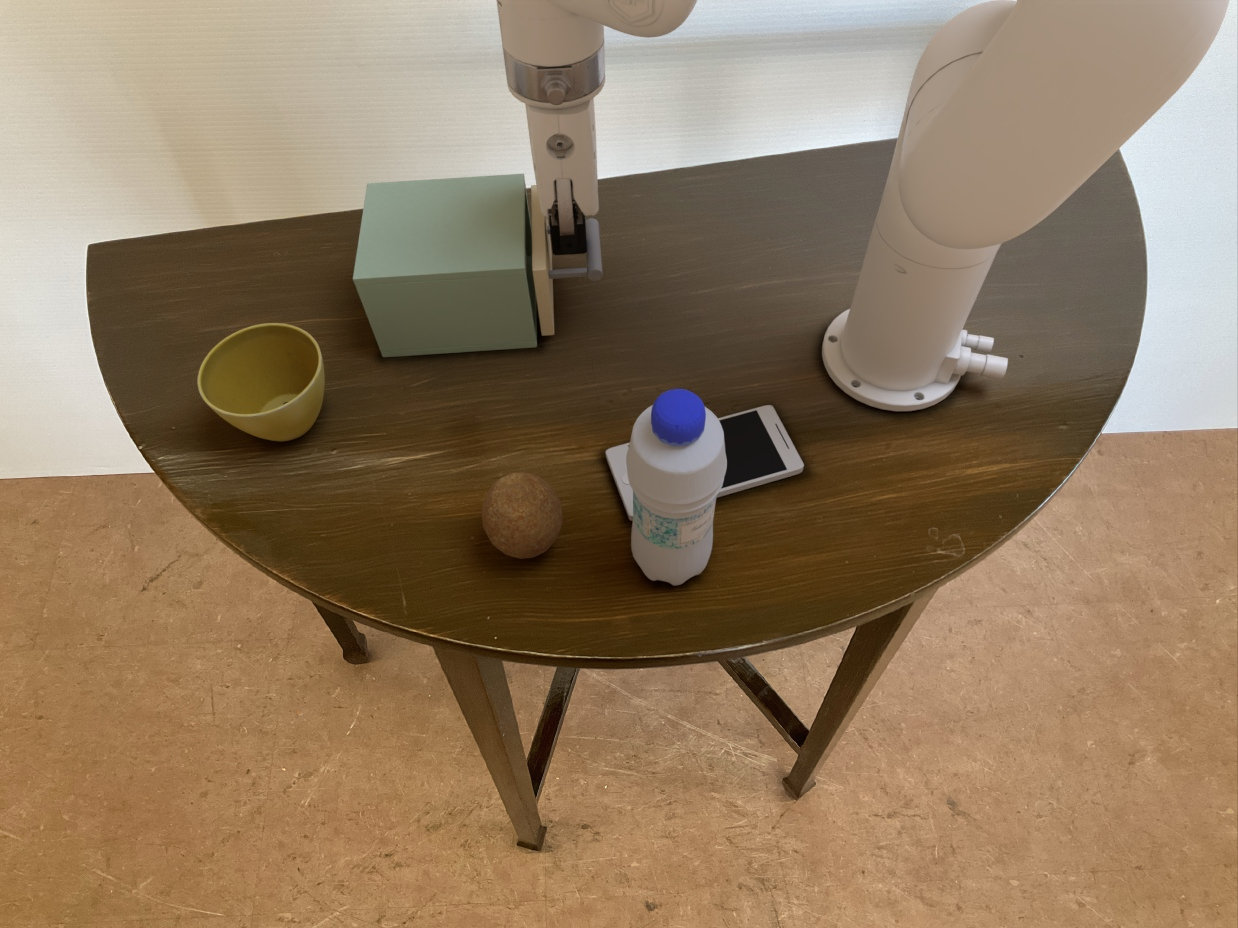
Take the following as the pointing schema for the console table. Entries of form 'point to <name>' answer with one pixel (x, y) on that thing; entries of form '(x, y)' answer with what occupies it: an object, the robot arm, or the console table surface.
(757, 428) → the smartphone
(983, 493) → the console table surface
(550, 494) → the fruit
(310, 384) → the flower pot
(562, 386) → the console table surface
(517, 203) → the cabinet
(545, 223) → the drawer
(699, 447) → the bottle
